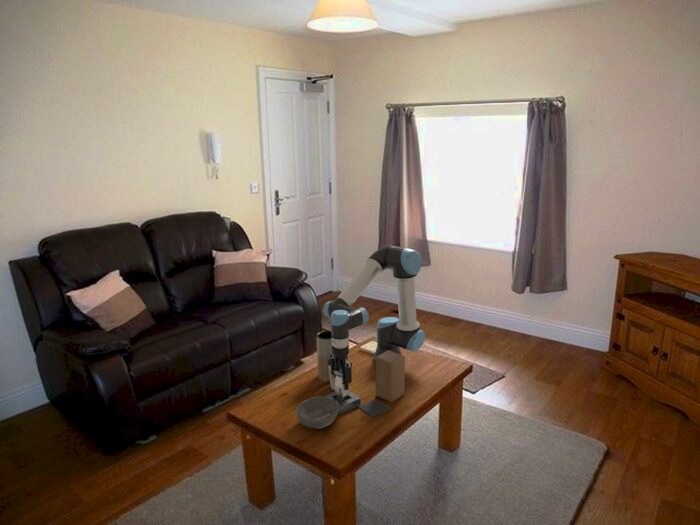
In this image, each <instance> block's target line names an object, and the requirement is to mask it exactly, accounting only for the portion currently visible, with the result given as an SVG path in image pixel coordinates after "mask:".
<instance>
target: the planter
mask: <svg viewBox="0 0 700 525" xmlns="http://www.w3.org/2000/svg"><path fill="white" fill-rule="evenodd" d="M330 354H332V336H331V330H324V331H322V330H321V331H319V332H318V333H317V334H316V357H317V359H316V360H317V361H316V362H317V379H318V380H320V381H323V382H330V379H329V369H328V367H329V366H328V360H329V359H330Z"/></svg>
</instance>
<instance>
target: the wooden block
mask: <svg viewBox="0 0 700 525" xmlns="http://www.w3.org/2000/svg"><path fill="white" fill-rule="evenodd" d="M405 362H406V358H405V356H404V355H403V354H402V355H400V354H398V353H395V352H392V351H386V352H384V353H382V354H380V355H379V356H377V357H376V362H375V395H376V396H377V397H378V398H382V399H384V400H385V401H388V402H390V403H393V402H395V401H397V400H398V399H400V398H401V397H402V396H404V394H405V377H406V376H405V371H406V370H405V366H406V365H405V364H406V363H405Z"/></svg>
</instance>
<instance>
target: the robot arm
mask: <svg viewBox="0 0 700 525" xmlns="http://www.w3.org/2000/svg"><path fill="white" fill-rule="evenodd" d="M365 262H366V264H365V265H363V267H362V269H360V270H359V272H358V273H357V274H356V275H355V276H354V278H352V280H350V282H349V283H348V284H347V285H346V287H344V289H343V290H342V292H340V294H339V295H338V296H337V297H336V298H335V299H334V300H331V301H330V300H329V301H327V302H326V301H325V302H326V303H324V305H323V308H322V312H323V315H324V316H325V317H327V318H329V319H330V331H331V336H332V354H330V359H331V374H332V375H333V376H334V382H335V390H334V392H336V375H335V374H334V372H333V371H334V370H337V369H341V372H342V374H343V376H342V378H343V383H342V396H343V397H344V396H347V395H348V390H349V384H350V383H352V382H353V379H352V367H353V366H352V365H353V362H350V361H349V359H348V355H349V353H350V337H349V336H350V334H349V333H350V330H353V329H355V328H357V327H360V326H363V325H364V324H366V323H367V322H368V321H369V317H370V316H369V312H368V310H367V309H366V308H365V307H361V306H360V307H356V308H353V307H352V305H353V304H354V303H355V301H357V300H358V299H359V297H360V296H361V295H362V293H363V292H364V291H365V290H366V289H367V288H368V286H369V285H370V284H371V283H372V281H373V280H375V278H376V277H377V276H378V275H379V274H382V272H384V271H385V270H392V276H393V278H394V279H396V290H397V292H396V293H397V305H398V306H397V307H398V317H396V316H395V317H394V316H386V317H383V318H380V319H378V321H377V323H376V325H377V326H376V343H377V344H376V348H375V352H374V354H373V360H374V362H375V363H376V357H377V356H379V355H380V354H382V353H384V352H386V351H392V352H395V353H398V354H400V355H403V353H402V352H401V349H403V350H406V351H410V352H413V353H414V352H417V351H419V350H421V348H422V346H423V345H424V343H425V339H426V334H425V332H424V330H422V329H421V326H420V325H421V324H420V322H419V321H418V320H417V308H416V291H415V288H416V287H415V279H416V277H417V276H418V273H419V272H420V271H421V268H422V265H423V264H422V257H421V255H420V253H419V252H418V251H417V250H415V249H412V248H408V247H407V248H406V247H402V246H401V247H400V246H395V245H389V244H388V245H386V246H383V247H381V248H379V249H377V250H375V251H374V252H373V253H372V254H371V255H370V256H369V257H368V258H367V260H366V261H365Z"/></svg>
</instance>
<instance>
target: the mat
mask: <svg viewBox="0 0 700 525" xmlns="http://www.w3.org/2000/svg"><path fill="white" fill-rule="evenodd" d="M358 409H360V410H361V411H363V412H364V413H366V414H367V415H369V416H371V417H372V418H375V417H377V416H379V415H381V414H383V413H385V412H387V411H390V410H391V408H390V407H389V406H387V405H386V404H384V403H382V402H381V401H379V400H378V399H372V400H371V401H368V402H366V403H363V404H361V405H360V406H358Z"/></svg>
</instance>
